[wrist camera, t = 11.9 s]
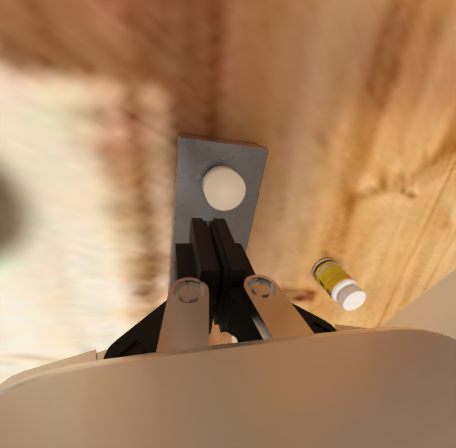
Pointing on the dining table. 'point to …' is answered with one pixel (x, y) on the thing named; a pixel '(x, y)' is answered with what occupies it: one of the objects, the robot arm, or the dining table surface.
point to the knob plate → (193, 193)
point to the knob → (223, 188)
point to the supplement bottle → (338, 284)
